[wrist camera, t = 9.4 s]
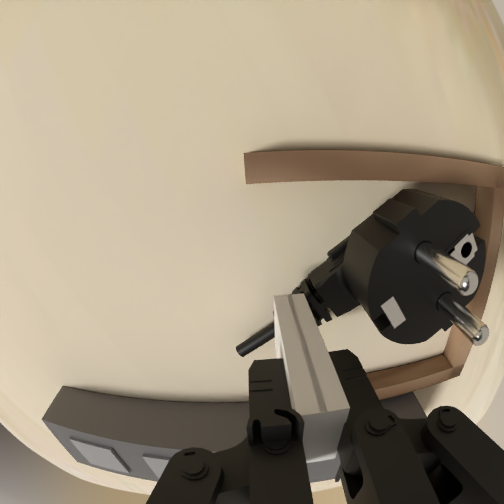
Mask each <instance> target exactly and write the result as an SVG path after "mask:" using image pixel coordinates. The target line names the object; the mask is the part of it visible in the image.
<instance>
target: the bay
mask: <svg viewBox="0 0 504 504" xmlns="http://www.w3.org/2000/svg"><path fill="white" fill-rule="evenodd" d="M244 162H245V176H246V184H254V183H271V182H291V181H322V180H388V181H418V182H437V183H452V184H465V185H476V186H477V187H476V204H475V217H476V218H477V220H478V221H479V223H480V227H479V228H478V229H477V230H476V231H475V232H474V233H473V235H475V236H477V237H479V238H481V239H483V240H485V246H486V260H485V268H484V273H483V277H482V280H481V283H480V286H479V288H478V291H477V293H476V295H475V297H474V299H473V300H472V301H471V302H470V303H469V304H467V305H466V307H467V308H468V309H469V310H470V311H471V312H472V313H473V314H475V315H476V316H477V317H478V318H479V319H480V320H481V319H482V316H483V313H484V310H485V306H486V303H487V299H488V296H489V292H490V288H491V284H492V280H493V276H494V271H495V267H496V262H497V257H498V251H499V246H500V239H501V233H502V225H503V217H504V167H500V166H495V165H490V164H484V163H479V162H473V161H466V160H460V159H453V158H445V157H437V156H428V155H418V154H407V153H394V152H377V151H352V150H294V151H268V152H251V153H244ZM472 345H473V344H472V343H471V342H470V341H469V340H468V338H467V337H466V336H465V335H464V334H463V333H462V332H461V331H460V330H459V329H458V328H457V327H456V326H455V325H454V324H453V326H452V329H451V332H450V336H449V339H448V342H447V345H446V347H445V350H444V353H443V355H439V356H436V357H433V358H429V359H426V360H422V361H418V362H414V363H411V364H407V365H402V366H398V367H394V368H390V369H385V370H380V371H376V372H371V373H366V374H367V377H368V378H369V380H370V382H371V384H372V386H373V388H374V390H375V392H376V394H377V396H378V398H379V400H382V399H386V398H390V397H394V396H398V395H402V394H405V393H409V392H412V391H415V390H419V389H422V388H425V387H428V386H431V385H434V384H437V383H440V382H443V381H446V380H449V379H451V378H454V377H457V376H459V375H460V373H461V371H462V369H463V367H464V364H465V362H466V360H467V357H468V355H469V352H470V350H471V347H472Z"/></svg>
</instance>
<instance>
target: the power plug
mask: <svg viewBox="0 0 504 504" xmlns="http://www.w3.org/2000/svg"><path fill="white" fill-rule="evenodd" d="M479 227H480V223H479V221H478V220H477V218H476V217H475V215H474V214H473V213H472V212H471V211H470V210H469V209H468V208H467V207H466V206H464V205H462V204H460V203H458V202H455V201H452V200H449V199H446V198H443V197H439V196H436V195H433V194H429V193H426V192H422V191H419V190H413V189H403V190H401V191H400V192H399V193H398V194H397V195H395V196H394V197H393V198H392V199H388V200H387V201H386V202H385V203H384V204H382V205H381V206H380V207H379V208H377V209H376V210H375V211H374V212H373V214H372V215H371V216H369V217H368V218H367V219H366V220H364V221H363V222H362V223H361V224H359V225H358V226H357V227H356V228H354V229H353V230H352V232H351V234H350V236H348V237H347V238H346V239H345V240H343V241H342V242H341V243H339V244H338V245H337V246H335V247H334V248H333V249H332V250H330V251H329V252H328V253H327V255H328V256H329V258H328V259H327V261H325V262H324V263H323V264H321V265H320V266H319V267H317V268H316V269H315V270H313V271H312V272H311V273H310V274H309V278H310V280H311V282H312V284H313V286H314V289H313V288H312V287H311V286H310V285H309V284H308V282H307V281H306V280H305V279H304V280H303V281H302V282H301V283H300V284H301V288H300V289H298V288H297V287H296V288H295V289H294V290H293V291H292V292H293V294H303V293H304V295H305V298H306V300H307V302H308V305H309V307H310V309H311V312H312V314H313V317H314V319H315V321H316V324H317V326H319V325H322V323H321V319H323V318H324V319H325V321H326V322H328V321H330V320H332V318H331V315H330V313H329V311H328V309H327V308H330V309H331V310H332V311H333V312H334V314H335V315H336V316H337V317H339V316H341V315H343V314H345V313H347V312H349V311H351V310H352V309H354V308H355V307H357V306H358V305H360V304H361V305H362V306H363V308H364V309H365V311H366V312H367V314H368V315H369V317H370V318H371V320H372V321H373V323H374V324H375V326H376V327H377V329H378V330H379V332H380V333H381V334H382V335H383V336H384V337H386V338H387V339H389V340H391V341H393V342H396V343H401V344H416V343H421V342H424V341H427V340H428V339H429V338H430V337H432V336H433V335H434V334H435V333H436V332H438V331H439V330H440V329H441V328H442V329H443V330H444V331H446V330H447V329H449V328H450V327H451V326H452V325H453V324H454V325H455V326H456V327H457V328H458V329H459V330H460V331H461V332H462V333H463V334H464V335H465V336H466V337H467V338H468V340H469V341H470V342H471V343H472V344H474V345H475V346H479V345H482V344H483V343H485V342H486V340H487V338H488V336H489V329H488V327H487V325H486V324H485V323H483V322H482V321H481V320H480V319H479V318H478V317H477V316H476V315H475V314H473V313H472V312H471V311H470V310H469V309H468V308H467V307H466V305H467V304H469V303H470V302H471V301H472V300H473V299H474V297H475V295H476V293H477V291H478V288H479V286H480V283H481V280H482V277H483V273H484V268H485V260H486V246H485V240H483V239H481V238H479V237H477V236H475V235H473V233H474V232H475V231H476V230H477V229H478V228H479ZM273 313H274V312H273ZM274 337H275V326H274V322H273V323H272V324H270V325H269V326H267V327H266V328H264V329H263V330H261V331H260V332H258V333H256V334H255V335H253V336H252V337H250V338H249V339H247V340H246V341H244V342H243V343H241V344H239V345H238V346H236V350H237V352H238V354H239V355H240V356H242V357H244V356H245V355H247V354H249V353H250V352H252V351H254V350H255V349H257V348H258V347H260V346H262V345H263V344H265V343H266V342H268V341H269V340H271V339H272V338H274Z"/></svg>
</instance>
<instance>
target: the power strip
mask: <svg viewBox="0 0 504 504" xmlns="http://www.w3.org/2000/svg"><path fill="white" fill-rule="evenodd" d="M380 402H381V404H382V406H383V408H384V409H388V410H390V411H391V412H393V413H395V414H396V415H397V416H398V418H401V419H422V418H427V416H426V414H425V412H424V411H423V409H422V407H421V405H420V403H419V402H418V400H417V398H416V396H415V395H414V393H413V391H412V392H409V393H405V394H402V395H398V396H394V397H390V398H386V399H382V400H380ZM249 418H250V415H249V402H239V403H195V402H173V401H158V400H147V399H137V398H129V397H121V396H114V395H107V394H101V393H95V392H89V391H84V390H79V389H74V388H69V387H65V386H62V388H61V389H60V391H59V392H58V394H57V396H56V397H55V399H54V400H53V402H52V403H51V405H50V407H49V408H48V410H47V411H46V413H45V415H44V416H43V418H42V420H43V422H44V423H45V424H46V426H47V427H48V428H49V429H50V431H51V432H52V433H53V434H54V436H55V437H56V438H57V439H58V440H59V442H60V443H61V444H62V445H63V446H64V447H65V449H66V450H67V451H68V452H69V453H70V454H71V455H72V456H73V457H74V459H75V460H76V461H77V462H80V463H83V464H86V465H89V466H92V467H95V468H99V469H102V470H106V471H110V472H114V473H118V474H122V475H126V476H131V477H136V478H141V479H146V480H152V481H158V480H159V478H160V477H161V475H162V473H163V471H164V469H165V467H166V465H167V464H168V462H169V460H170V459H171V458H172V457H173V455H174V454H175V453H177V452H179V451H181V450H183V449H187V448H191V447H196V448H204V449H206V450H209V451H211V452H213V453H215V452H219V451H222V450H226V449H229V448H232V447H234V446H236V445H238V444H239V443H241V442H242V441H243V440H244V439H245V438H246V437H247V429H246V427H247V423H248V419H249ZM340 463H341V462H340V458H339V454H338V451H337V454H336V457H335V458H334V459H329V460H324V461H318V462H312V463H311V462H310V463H307V469H308V475H309V480H310V483H312V482H318V481H324V480H330V479H335V476H336V474H337V471H338V469H339V466H340Z"/></svg>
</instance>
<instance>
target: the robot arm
mask: <svg viewBox="0 0 504 504" xmlns="http://www.w3.org/2000/svg"><path fill="white" fill-rule="evenodd" d="M274 326H275V349H276V356H277V359H265V360H254V362H253V363H252V365H251V367H250V369H249V415H250V418H249V419H248V423H247V427H246V429H247V437H246V438H245V439H244V440H243V441H242V442H241V443H239V444H238V445H236V446H234V447H232V448H229V449H226V450H222V451H219V452H215V453H213V452H211V451H209V450H206V449H204V448H196V447H191V448H187V449H183V450H181V451H179V452H177V453H175V454H174V455H173V457H172V458H171V459H170V460H169V462H168V464H167V465H166V467H165V469H164V471H163V473H162V475H161V477H160V478H159V480H158V482H157V484H156V486H155V488H154V490H153V491H152V493H151V495H150V497H149V499H148V501H147V502H146V504H313V498H312V492H311V486H310V480H309V475H308V469H307V463H310V462H311V463H312V462H318V461H324V460H329V459H334V458H335V457H336V454H337V451H338V454H339V458H340V462H341V463H340V466H339V469H338V471H337V474H336V476H335V482H338V481H339V480H340V478H341V482H342V485H343V489H344V493H345V497H346V501H347V504H504V450H503V449H502V448H500V447H499V446H498V445H497V444H496V443H495V442H494V441H493V440H492V439H491V438H490V437H489V436H488V435H486V434H485V433H484V432H483V431H482V430H481V429H480V428H479V427H478V426H477V425H476V424H474V423H473V422H472V421H471V420H470V419H469V418H468V417H467V416H466V415H465V414H463V413H462V412H461V411H460V410H458V409H457V408H455V407H451V406H440V407H438V408H436V409H434V410H433V411H432V412H431V413H430V414H429V415H428V417H427V418H422V419H401V418H398V416H397V415H396V414H395V413H393V412H391V411H390V410H388V409H384V408H383V406H382V404H381V402H380V400H379V398H378V396H377V394H376V392H375V390H374V388H373V386H372V384H371V382H370V380H369V378H368V377H367V374H366V372H365V370H364V369H363V367H362V365H361V363H360V361H359V359H358V357H357V356H356V355H354V354H353V353H352V352H351V351H349V350H348V349H346V350H339V351H332V352H328V351H327V348H326V346H325V343H324V341H323V338H322V336H321V333H320V331H319V329H318V326H317V324H316V321H315V319H314V317H313V314H312V312H311V309H310V307H309V305H308V302H307V300H306V298H305V295H304V293H303V294H291V295H278V296H274Z"/></svg>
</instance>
